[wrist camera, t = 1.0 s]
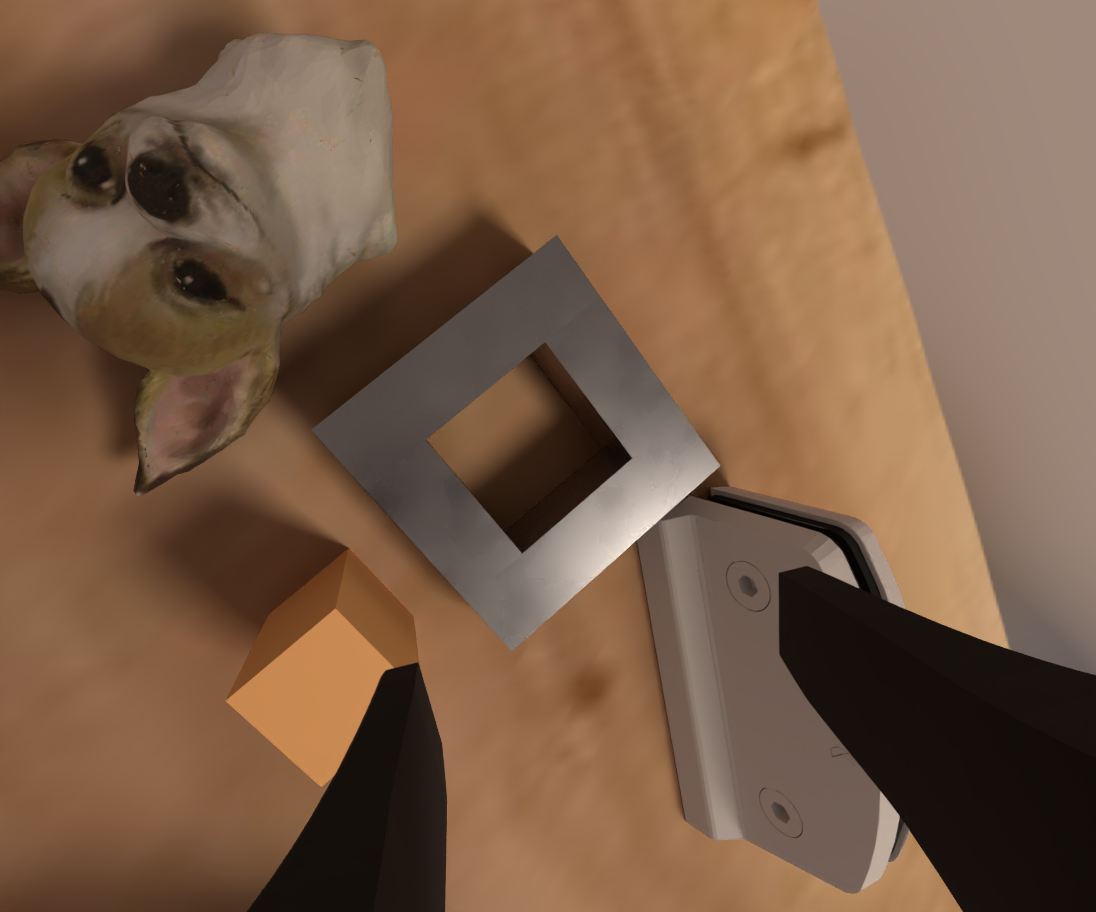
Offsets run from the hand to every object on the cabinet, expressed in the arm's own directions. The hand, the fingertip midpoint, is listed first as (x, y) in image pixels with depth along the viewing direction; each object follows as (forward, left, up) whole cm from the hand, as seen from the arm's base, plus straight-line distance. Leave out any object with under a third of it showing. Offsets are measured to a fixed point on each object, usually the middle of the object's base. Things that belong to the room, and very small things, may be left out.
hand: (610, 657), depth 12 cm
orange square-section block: (-7, 0, -15) cm, 17 cm away
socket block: (+3, +1, -15) cm, 15 cm away
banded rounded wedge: (+4, -14, -15) cm, 21 cm away
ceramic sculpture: (-2, +14, -15) cm, 21 cm away
